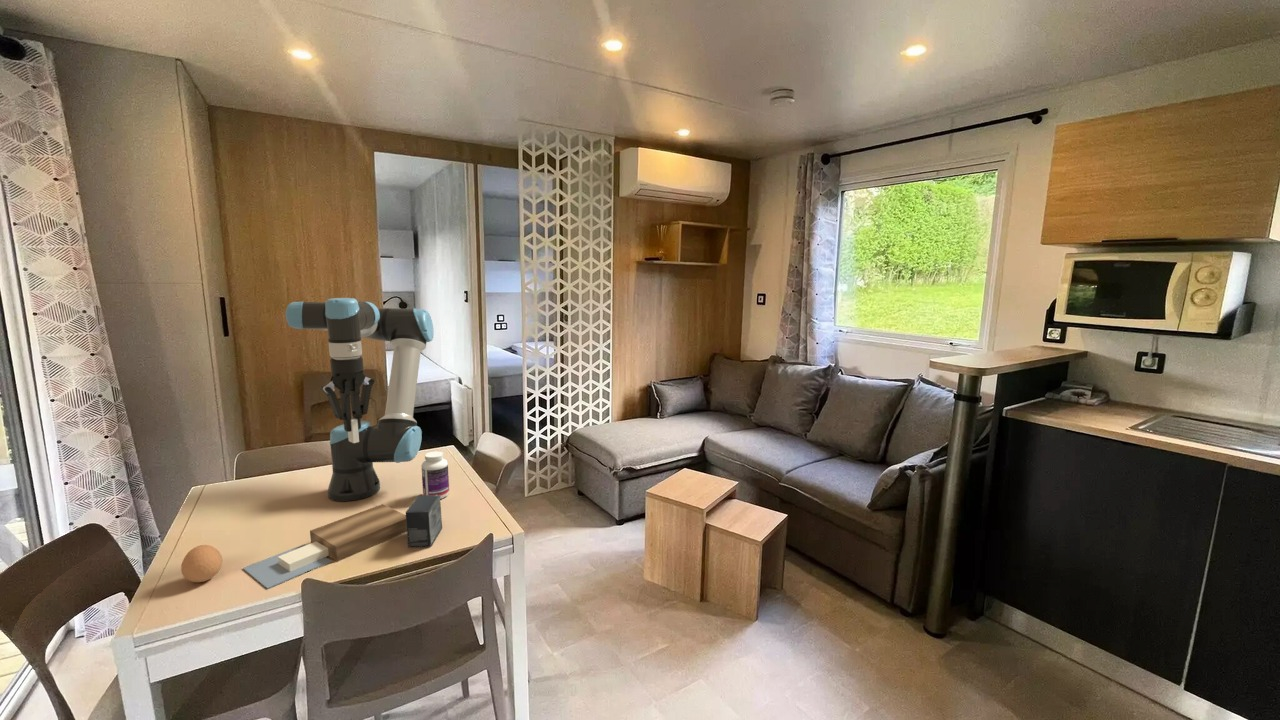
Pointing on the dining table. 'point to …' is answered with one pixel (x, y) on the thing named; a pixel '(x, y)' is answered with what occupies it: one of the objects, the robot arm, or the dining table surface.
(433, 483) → the pill bottle
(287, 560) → the cream butter stick
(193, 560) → the egg
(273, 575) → the mat
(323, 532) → the wooden block
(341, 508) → the dining table surface
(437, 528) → the small box
